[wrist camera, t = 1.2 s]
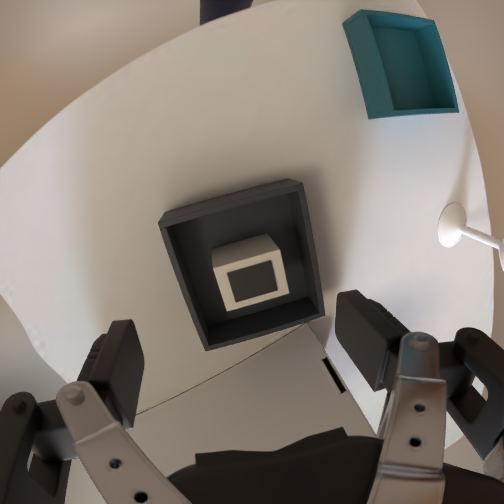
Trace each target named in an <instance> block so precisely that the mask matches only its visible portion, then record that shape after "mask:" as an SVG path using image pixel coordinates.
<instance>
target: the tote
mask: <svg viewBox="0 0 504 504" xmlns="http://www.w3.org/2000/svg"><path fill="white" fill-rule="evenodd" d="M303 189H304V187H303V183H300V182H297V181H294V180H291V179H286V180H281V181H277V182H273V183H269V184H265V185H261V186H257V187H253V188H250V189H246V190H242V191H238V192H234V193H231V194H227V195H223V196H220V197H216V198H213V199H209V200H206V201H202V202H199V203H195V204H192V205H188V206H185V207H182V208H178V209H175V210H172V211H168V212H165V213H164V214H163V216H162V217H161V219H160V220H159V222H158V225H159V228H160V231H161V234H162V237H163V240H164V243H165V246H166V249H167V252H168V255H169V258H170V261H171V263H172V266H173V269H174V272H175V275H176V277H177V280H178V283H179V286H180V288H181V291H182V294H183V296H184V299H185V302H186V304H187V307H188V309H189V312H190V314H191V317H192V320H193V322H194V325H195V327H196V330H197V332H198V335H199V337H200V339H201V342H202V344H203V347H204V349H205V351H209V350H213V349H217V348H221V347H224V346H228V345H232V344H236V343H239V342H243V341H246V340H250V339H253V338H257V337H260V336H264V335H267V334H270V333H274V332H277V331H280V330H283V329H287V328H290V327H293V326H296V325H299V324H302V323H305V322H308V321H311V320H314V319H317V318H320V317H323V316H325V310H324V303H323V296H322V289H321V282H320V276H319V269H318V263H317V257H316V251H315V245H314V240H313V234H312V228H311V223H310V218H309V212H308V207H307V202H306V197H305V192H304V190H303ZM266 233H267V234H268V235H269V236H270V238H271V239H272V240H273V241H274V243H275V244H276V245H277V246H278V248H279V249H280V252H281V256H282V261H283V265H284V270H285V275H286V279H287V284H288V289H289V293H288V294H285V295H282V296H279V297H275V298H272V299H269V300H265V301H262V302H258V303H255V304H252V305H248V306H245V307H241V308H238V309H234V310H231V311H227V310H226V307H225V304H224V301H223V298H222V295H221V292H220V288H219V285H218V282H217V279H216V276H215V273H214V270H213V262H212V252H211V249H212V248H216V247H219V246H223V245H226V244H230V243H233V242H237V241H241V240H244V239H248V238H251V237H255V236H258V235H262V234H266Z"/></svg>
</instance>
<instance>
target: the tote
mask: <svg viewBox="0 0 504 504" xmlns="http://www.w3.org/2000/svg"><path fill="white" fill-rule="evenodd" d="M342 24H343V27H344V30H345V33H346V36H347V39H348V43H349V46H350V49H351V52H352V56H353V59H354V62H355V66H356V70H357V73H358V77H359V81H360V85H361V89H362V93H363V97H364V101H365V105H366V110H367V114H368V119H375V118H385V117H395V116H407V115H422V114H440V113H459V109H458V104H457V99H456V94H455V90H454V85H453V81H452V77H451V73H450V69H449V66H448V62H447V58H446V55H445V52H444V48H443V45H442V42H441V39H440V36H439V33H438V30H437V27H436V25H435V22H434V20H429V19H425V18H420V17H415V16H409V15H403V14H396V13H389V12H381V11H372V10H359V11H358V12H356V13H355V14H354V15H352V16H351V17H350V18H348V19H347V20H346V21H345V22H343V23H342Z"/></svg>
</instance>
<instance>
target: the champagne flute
mask: <svg viewBox="0 0 504 504" xmlns="http://www.w3.org/2000/svg"><path fill="white" fill-rule="evenodd" d="M463 234H465V235H467V236H469V237H472V238H474V239H476V240H479V241H481V242H483V243H486V244H488V245H490V246H492V247H495V248H497V249H499V256H500V261H501V266H502V268H503V271H504V238H503V239H502V241H501V240H499V239H497V238H494V237H492V236H490V235H487V234H485V233H482V232H480V231H477V230H475V229H472V228H470V227H467V226H466V213H465V210H464V208H463V207H462V205H460V204H459V203H451V204H449V205H448V206H447V207H446V208H445V209H444V211H443V212H442V214H441V216H440V219H439V223H438V237H439V240H440V242H441V244H442V245H443V246H445V247H453V246H455V245H456V244H457V243H458V242H459V241H460V240H461V238H462V236H463Z"/></svg>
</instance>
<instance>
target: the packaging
mask: <svg viewBox="0 0 504 504" xmlns="http://www.w3.org/2000/svg"><path fill="white" fill-rule="evenodd" d="M339 427H343V428H344V430H345V432H346V434H347V436H348V435H362V436H370V437H376V434H375V432H374V430H373V429H372V427H371V425H370V424H369V422H368V420H367V419H366V417H365V415H364V414H363V412H362V410H361V409H360V407H359V405H358V404H357V402H356V400H355V399H354V397H353V396H352V394H351V392H350V391H349V389H348V387H347V386H346V384H345V382H344V381H343V379H342V377H341V376H340V374H339V372H338V371H337V369H336V368H335V366H334V364H333V363H332V361H331V359H330V358H329V356H328V354H327V353H326V351H325V350H324V348H323V346H322V345H321V343H320V342H319V340H318V339H317V337H316V336H315V334H314V333H313V331H312V329H311V328H310V326H309V325H308V323H307V322H306V323H305V324H304V325H302V326H301V327H299V328H297V329H296V330H294V331H293V332H291V333H289V334H288V335H286V336H285V337H283V338H281V339H280V340H278V341H276V342H275V343H273V344H271V345H270V346H268V347H266V348H265V349H263V350H261V351H260V352H258V353H256V354H254V355H253V356H251V357H249V358H248V359H246V360H244V361H242V362H241V363H239V364H237V365H235V366H233V367H232V368H230V369H228V370H226V371H224V372H223V373H221V374H219V375H217V376H215V377H213V378H211V379H210V380H208V381H206V382H204V383H202V384H200V385H198V386H196V387H194V388H192V389H190V390H188V391H186V392H184V393H182V394H180V395H178V396H176V397H174V398H172V399H170V400H168V401H166V402H164V403H162V404H160V405H158V406H156V407H154V408H151V409H149V410H147V411H145V412H143V413H141V414H138V415H136V416H135V421H134V427H133V430H127V432H128V434H129V435H130V436H131V438H132V439H133V440H134V441H135V443H136V444H137V445H138V446H139V447H140V449H141V450H142V451H143V452H144V453H145V455H146V456H147V457H148V458H149V459H150V460H151V462H152V463H153V464H154V465H155V466H156V467H157V468H158V469H159V471H160V472H161V473H162V474H163V475H164V476H165V477H168V476H169V475H171V474H172V473H174V472H175V471H177V470H179V469H181V468H184V467H186V466H189V465H192V464H195V453H207V452H217V451H226V450H243V451H275V450H278V449H280V448H283V447H285V446H287V445H290V444H292V443H294V442H296V441H299V440H301V439H303V438H305V437H307V436H310V435H314V434H318V433H321V432H325V431H329V430H332V429H336V428H339Z"/></svg>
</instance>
